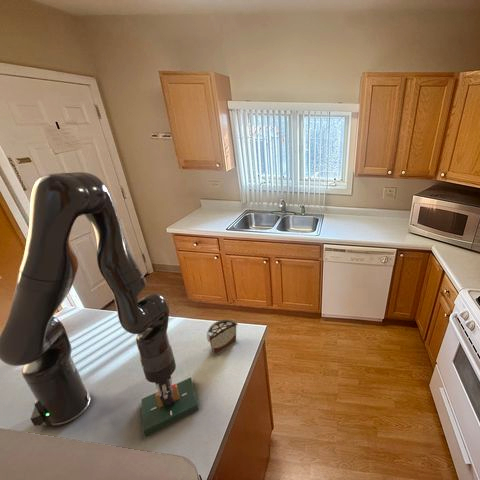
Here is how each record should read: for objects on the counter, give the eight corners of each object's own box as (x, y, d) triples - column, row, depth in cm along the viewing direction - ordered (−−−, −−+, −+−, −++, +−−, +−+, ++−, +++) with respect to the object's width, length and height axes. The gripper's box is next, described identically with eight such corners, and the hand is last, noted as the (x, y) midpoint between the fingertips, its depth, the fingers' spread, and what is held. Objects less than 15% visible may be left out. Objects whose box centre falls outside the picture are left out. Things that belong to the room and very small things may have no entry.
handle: (159, 408, 76) (155, 396, 74) (158, 404, 77) (155, 392, 75) (179, 398, 79) (176, 386, 77) (179, 395, 80) (176, 383, 78)
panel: (144, 436, 71) (142, 430, 70) (143, 403, 79) (141, 398, 78) (198, 409, 79) (197, 403, 78) (191, 382, 87) (190, 377, 86)
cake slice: (230, 332, 109) (228, 314, 105) (239, 340, 105) (237, 321, 101) (203, 349, 100) (199, 329, 96) (211, 358, 96) (208, 338, 92)
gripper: (141, 348, 74) (153, 388, 81) (143, 386, 64) (156, 428, 71) (170, 338, 78) (179, 377, 85) (176, 372, 68) (186, 413, 75)
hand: (169, 400), depth 78 cm, fingers open, 3 cm apart
